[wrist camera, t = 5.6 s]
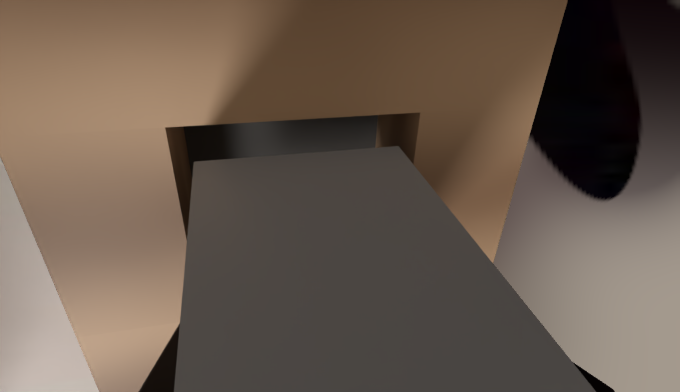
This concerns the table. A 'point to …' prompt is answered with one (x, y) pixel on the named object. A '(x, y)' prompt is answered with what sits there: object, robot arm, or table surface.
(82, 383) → the table surface
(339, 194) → the plug
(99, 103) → the socket block
